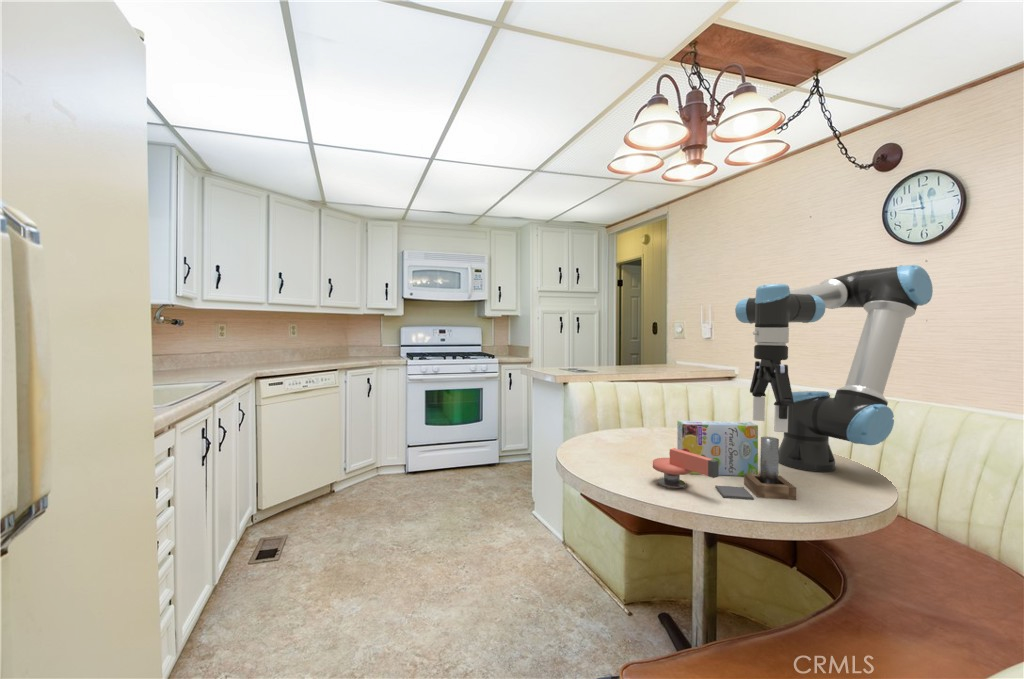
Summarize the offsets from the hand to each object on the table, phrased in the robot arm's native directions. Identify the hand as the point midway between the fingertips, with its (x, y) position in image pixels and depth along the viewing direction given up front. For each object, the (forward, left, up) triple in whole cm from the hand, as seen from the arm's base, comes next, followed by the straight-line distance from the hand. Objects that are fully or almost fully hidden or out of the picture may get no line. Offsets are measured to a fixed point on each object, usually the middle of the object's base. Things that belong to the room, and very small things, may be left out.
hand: (769, 425), depth 110 cm
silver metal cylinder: (0, 0, -17) cm, 17 cm away
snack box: (+9, -14, -18) cm, 24 cm away
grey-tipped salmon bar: (+21, +2, -13) cm, 25 cm away
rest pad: (+9, +3, -17) cm, 20 cm away
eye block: (0, 0, -17) cm, 17 cm away
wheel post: (+24, -1, -17) cm, 29 cm away
